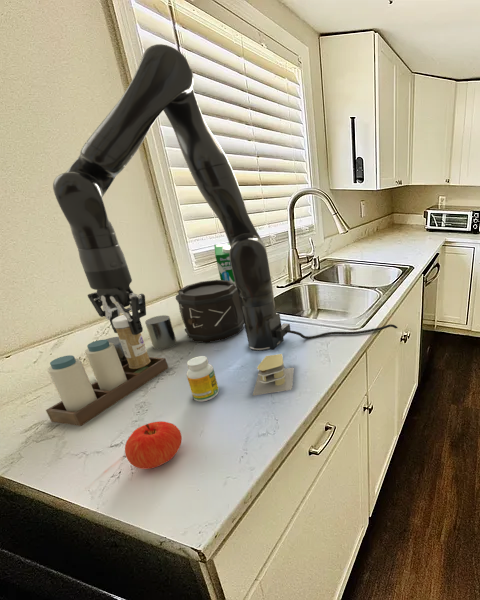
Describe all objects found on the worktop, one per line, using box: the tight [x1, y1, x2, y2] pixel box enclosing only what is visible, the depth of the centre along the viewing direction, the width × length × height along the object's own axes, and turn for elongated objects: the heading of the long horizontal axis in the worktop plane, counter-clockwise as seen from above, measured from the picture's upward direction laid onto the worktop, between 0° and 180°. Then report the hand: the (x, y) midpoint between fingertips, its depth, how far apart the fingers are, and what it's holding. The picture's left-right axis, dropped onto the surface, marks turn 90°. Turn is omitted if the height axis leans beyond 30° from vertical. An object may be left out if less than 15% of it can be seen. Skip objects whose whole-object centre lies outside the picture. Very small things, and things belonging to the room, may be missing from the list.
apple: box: [124, 420, 183, 470], centre depth 59 cm, size 8×8×8 cm
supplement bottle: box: [186, 355, 220, 403], centre depth 76 cm, size 5×5×10 cm
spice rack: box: [45, 356, 169, 427], centre depth 78 cm, size 8×22×4 cm, turn 170°
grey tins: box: [104, 314, 178, 366], centre depth 92 cm, size 6×20×9 cm, turn 170°
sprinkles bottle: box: [112, 313, 150, 369], centre depth 81 cm, size 5×5×13 cm
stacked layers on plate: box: [252, 353, 295, 397], centre depth 81 cm, size 10×9×6 cm
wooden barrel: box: [175, 279, 245, 344], centre depth 106 cm, size 18×18×16 cm
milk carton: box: [213, 242, 236, 286], centre depth 123 cm, size 9×9×25 cm
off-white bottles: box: [47, 339, 127, 412], centre depth 73 cm, size 5×12×13 cm, turn 170°
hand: (128, 332), depth 80 cm, fingers closed on sprinkles bottle, 4 cm apart
